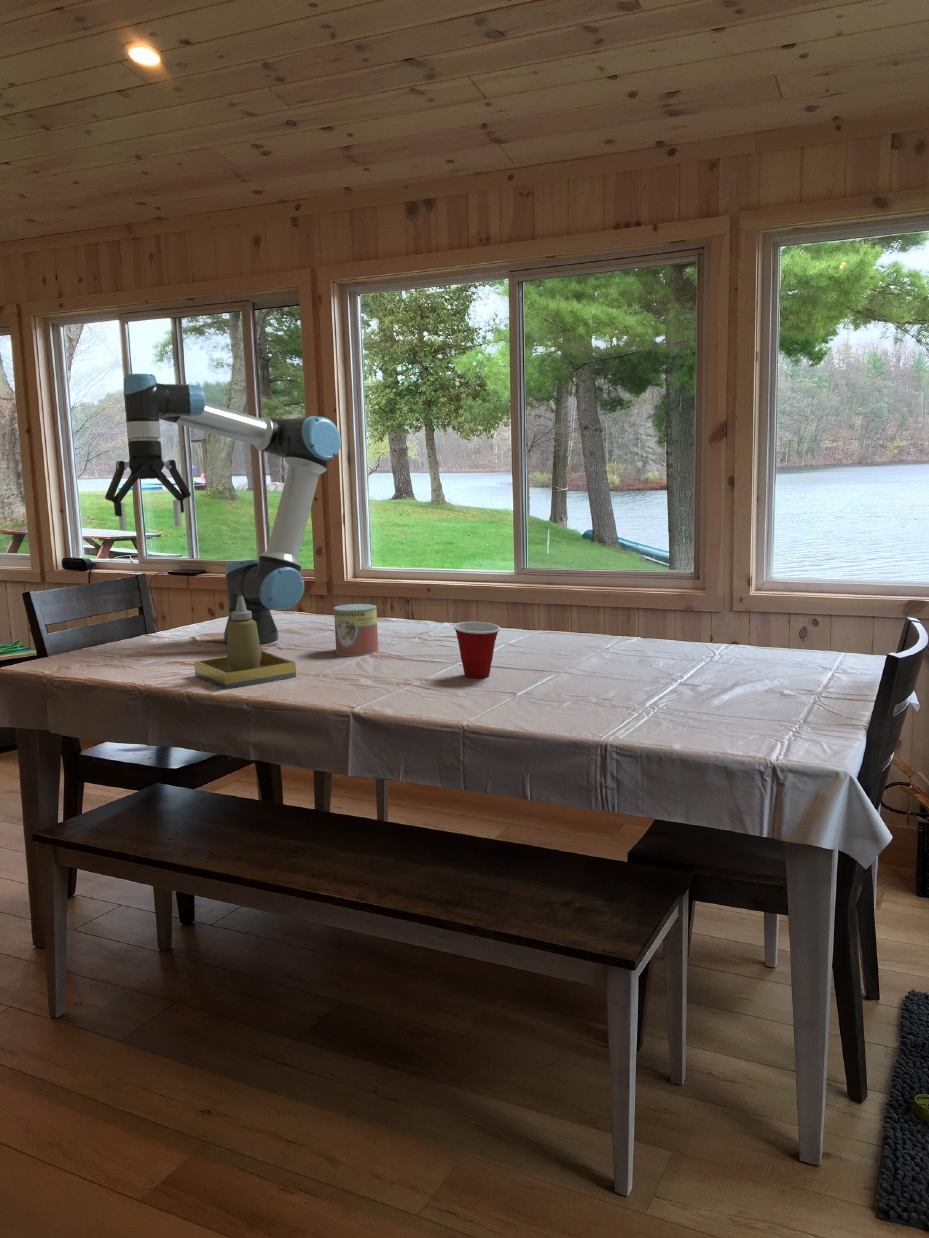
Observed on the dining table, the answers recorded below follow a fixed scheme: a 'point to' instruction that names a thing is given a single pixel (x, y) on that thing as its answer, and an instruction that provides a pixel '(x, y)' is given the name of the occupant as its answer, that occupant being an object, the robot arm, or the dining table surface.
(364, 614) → the canned food
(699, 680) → the dining table surface
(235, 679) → the shallow tray
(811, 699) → the dining table surface
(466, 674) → the plastic cup
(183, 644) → the dining table surface
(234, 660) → the squeeze bottle
